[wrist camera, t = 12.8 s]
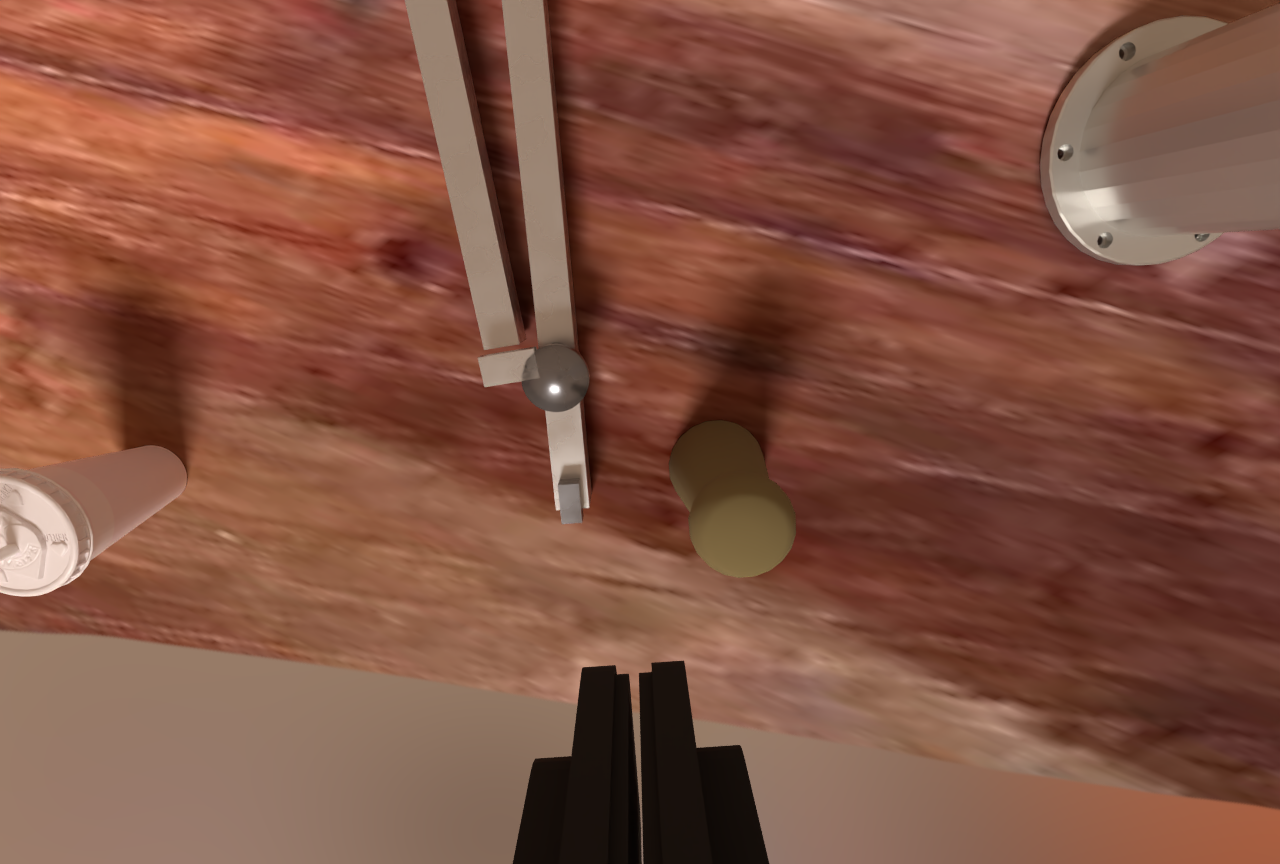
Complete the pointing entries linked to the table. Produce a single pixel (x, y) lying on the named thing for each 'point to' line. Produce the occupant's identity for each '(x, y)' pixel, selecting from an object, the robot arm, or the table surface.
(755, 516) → the olive pepper mill
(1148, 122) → the robot arm
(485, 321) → the tongs jaw
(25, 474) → the smoothie
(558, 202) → the tongs fixed
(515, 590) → the table surface
